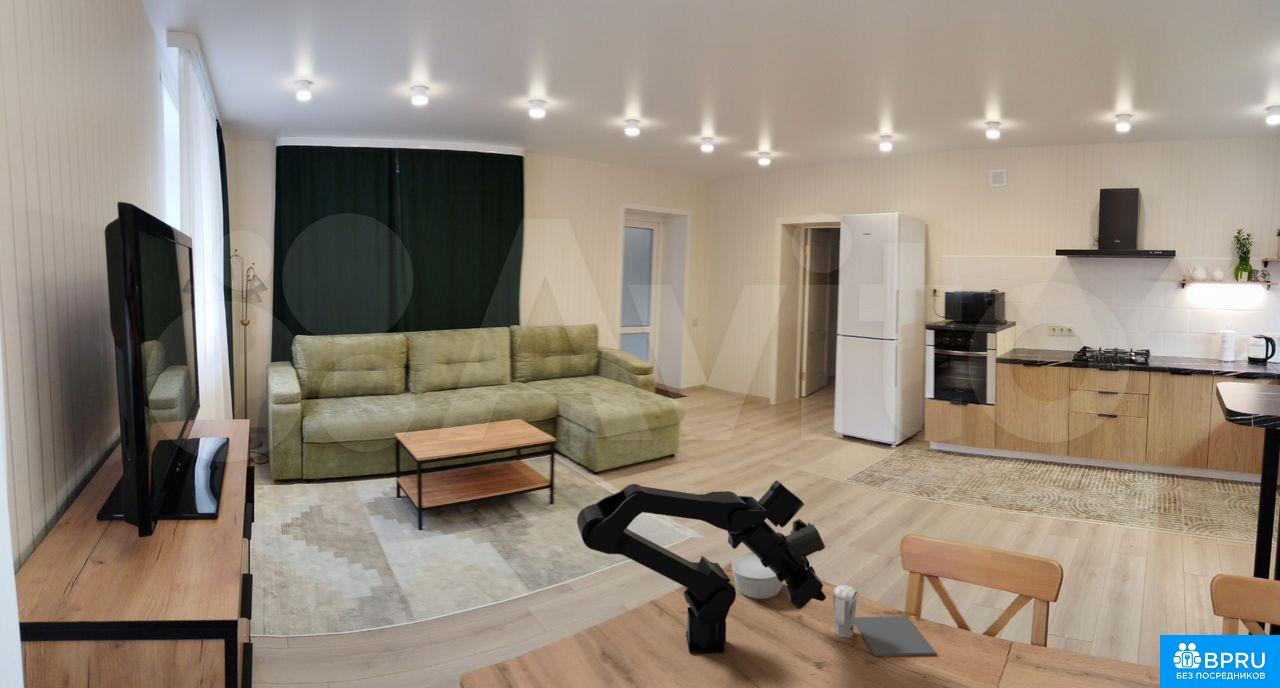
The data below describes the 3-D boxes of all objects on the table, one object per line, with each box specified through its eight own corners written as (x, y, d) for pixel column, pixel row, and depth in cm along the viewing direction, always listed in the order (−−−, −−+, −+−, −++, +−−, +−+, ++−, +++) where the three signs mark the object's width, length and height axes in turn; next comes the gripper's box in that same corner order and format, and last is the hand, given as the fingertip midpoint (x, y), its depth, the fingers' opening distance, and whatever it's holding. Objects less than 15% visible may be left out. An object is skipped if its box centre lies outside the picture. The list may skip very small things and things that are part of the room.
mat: (874, 656, 118) (875, 653, 118) (851, 619, 130) (851, 617, 130) (935, 655, 118) (935, 652, 118) (906, 618, 130) (906, 616, 130)
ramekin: (724, 594, 140) (724, 571, 139) (741, 572, 150) (742, 550, 149) (775, 607, 135) (776, 583, 134) (790, 583, 145) (790, 560, 144)
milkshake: (843, 644, 122) (845, 593, 120) (826, 629, 127) (828, 580, 125) (864, 639, 123) (866, 589, 122) (846, 624, 128) (848, 576, 127)
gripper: (812, 535, 112) (873, 594, 114) (785, 496, 131) (838, 547, 132) (765, 580, 113) (827, 638, 115) (745, 534, 132) (799, 585, 133)
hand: (824, 598), depth 124 cm, fingers closed
